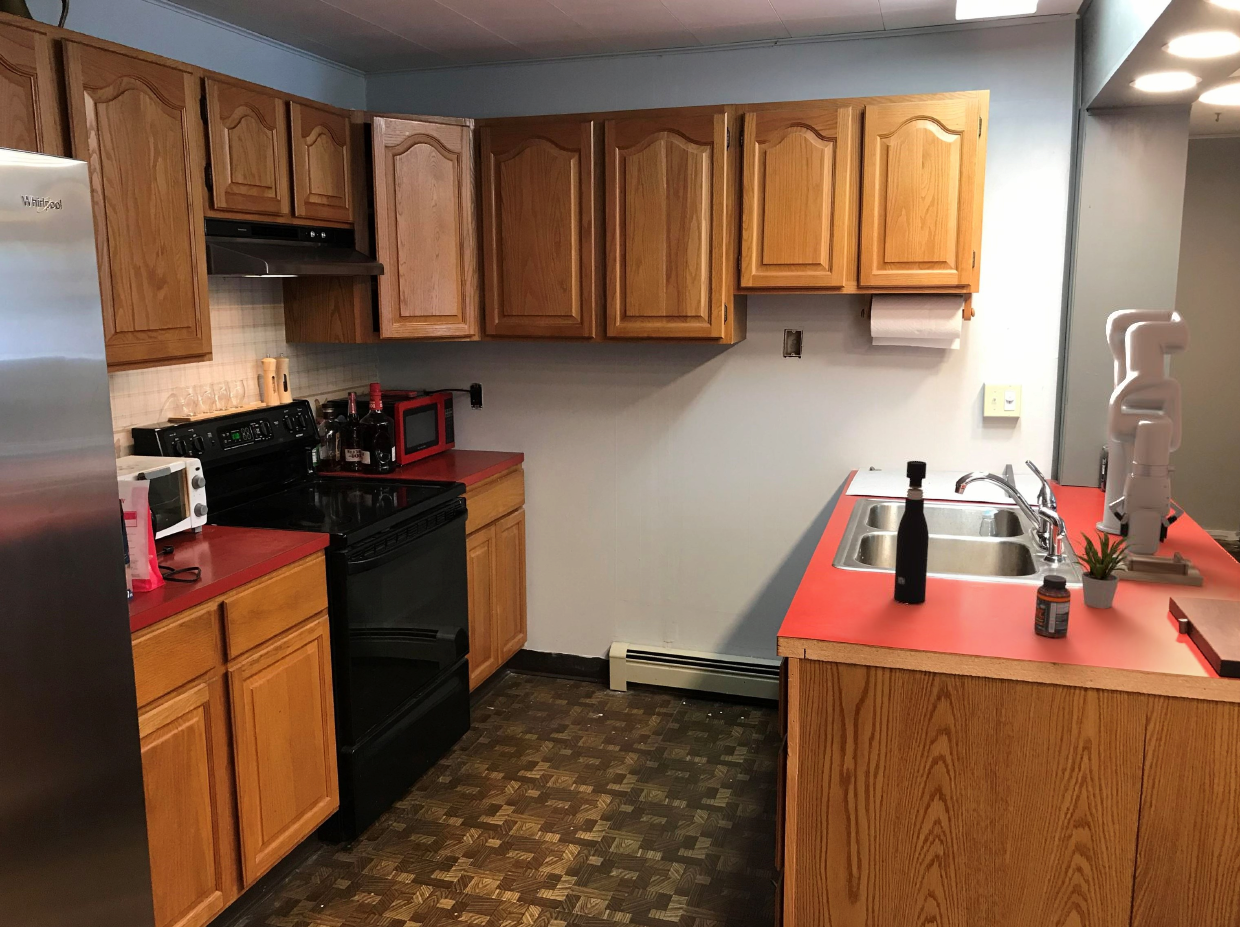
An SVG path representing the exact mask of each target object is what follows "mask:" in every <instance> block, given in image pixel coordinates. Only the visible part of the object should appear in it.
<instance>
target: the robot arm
mask: <svg viewBox="0 0 1240 927" xmlns="http://www.w3.org/2000/svg"><path fill="white" fill-rule="evenodd" d="M1106 337H1107V343H1108V346H1109V349H1110V351H1111V355H1112V357H1113V362H1114V366H1113V367H1114V372H1113V373H1114V374H1113V375H1114V376H1113V378H1114V379H1113V381H1114V382H1113V392H1112V394H1111V397H1110V399H1109V403H1108V407H1107V417H1108V418H1107V425H1108V426H1107V434H1106V435H1107V443H1108V444H1107V445H1108V446H1107V447H1108V460H1107V462H1108V463H1107V472H1106V473H1107V475H1106V485H1105V496H1104V505H1103V506H1104V508H1103V516H1102V517H1103V519H1102V520H1101V521H1098V522H1096V523H1095V524H1096V526H1095V528H1096V529H1097V530H1098V531H1100V532H1104V531H1105V532H1106V533H1107V534H1114V535H1119V536H1121V537H1122V538H1124V537H1127V531H1128V524H1127V521H1128V520H1129V518H1130V515H1132V513H1134V512H1136V511H1138V508H1143V509H1157V510H1156V512H1158V513H1159V514H1160V515H1161V517H1162V524H1161V533H1160V542H1159V543H1163V544H1164V542H1165V539H1166V540H1167V538H1168V528H1169V527H1170V526H1171V525H1172V524H1174V523H1175V522H1176V521H1177V520H1178V519H1179V518H1181V517H1182V515H1183V514H1184V513H1185V511H1184V510H1183V509H1182V508H1181V507H1180V506H1179V505H1177V504H1176V503H1174V501H1172V500H1171V498H1172V497H1171V492H1172V489H1171V485H1172V484H1171V478H1170V477H1171V476H1170V475H1169V473H1175V468H1176V467H1175V466H1171V465H1170V464H1169V460H1170V453H1173V452H1175V451H1177V450H1178V449H1179V448H1180V446H1181V443H1182V436H1183V435H1182V434H1183V433H1182V432H1183V425H1182V424H1183V418H1182V416H1183V414H1182V413H1183V412H1182V411H1183V408H1182V407H1183V404H1182V403H1183V402H1182V401H1183V399H1182V394H1183V393H1182V388H1181V384H1180V383H1179V381H1178V380H1176V379H1175V378H1173V377H1169V376H1165V360H1164V359H1165V357H1164V355H1171V356H1172V355H1174V356H1175V355H1176V356H1179V355H1183V354H1185V353H1186V352H1187V351H1188V350H1189V347H1190V343H1191V332H1190V328H1189V326H1188V323H1187V321H1186V320H1185V318H1184V316H1183V315H1182V313H1180V312H1179V311H1178V310H1175V309H1145V308H1144V309H1142V308H1140V309H1139V308H1136V309H1135V308H1134V309H1131V308H1130V309H1121V310H1118V311H1114V312H1112V314H1110V315H1109V317H1108V318H1107V323H1106ZM1122 411H1124V412H1122ZM1125 411H1126V412H1125ZM1135 412H1136V413H1135ZM1137 412H1139V413H1137ZM1155 413H1157V414H1155ZM1171 509H1172V511H1174V513H1172V514H1171V515H1170V512H1171ZM1169 515H1170V516H1169ZM1122 538H1121V539H1122Z"/></svg>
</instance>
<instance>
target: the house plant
mask: <svg viewBox="0 0 1240 927" xmlns="http://www.w3.org/2000/svg"><path fill="white" fill-rule="evenodd" d="M1092 529H1093V530H1094V531H1095V533H1096V534H1097V536H1098V540H1099V544H1100V553H1101V556H1100V555H1099V551H1098V548H1095V545H1094V544H1093V541H1092V540H1091V539H1090V537H1088V536H1087V535H1086V534H1085V533H1084V532H1082V531H1079V532H1080V534H1081V535H1082V537H1083V539H1084V541H1085V543H1086V544H1085V546H1084V547H1083V549H1084V553H1082V556H1081V555H1079V554H1074V553H1072V555H1073V556H1075V557H1077V558H1078V559H1079V560H1081V561H1082V562H1084V563H1086V564H1087V565H1088V567H1089V569H1088V568H1087V566H1086V565H1084V564H1083V563H1081V562H1080V561H1073V562H1072V564H1077V565H1081V566H1082V567H1083V568H1085V569H1086V571H1084V572H1081V581H1082V590H1083V591H1082V592H1083V603H1084V604H1085V606H1088V607H1092V608H1096V607H1098V609H1109V608H1111V607H1112V604H1113V602H1114V598H1115V594H1116V591H1117V588H1118V584H1119V580H1120V579H1119V577H1118V576H1116V575H1114V574H1111V572H1112V571H1113V570H1121V571H1125V572H1126V570H1125V569H1122V568H1116V567H1117V565H1118V564H1119V563H1120V562H1121V561H1122V560H1123V559H1125V558H1126V557H1128V556H1132V555H1127V556H1124V557H1122V558H1119V556H1120V555H1121V554H1122V553H1123V552H1124V551H1125V550H1126V549H1127V548H1128V547H1130V546H1132V545H1142V544H1129V545H1127V546H1126V547H1125V546H1123V547H1120V546H1121V545H1123V543H1125V541H1126V540H1127V539H1128V538H1130V537H1133V536H1136V535H1131V536H1127V537H1124V538H1121V539H1118V540H1117V539H1116V540H1115V541H1114V542H1113V543H1112V544H1111V547H1110V537H1109V535H1108V533H1107V532H1105V531H1103V535H1102V534H1100V533H1101V530H1098V531H1097V530H1096V529H1095V528H1093V527H1092ZM1098 532H1099V533H1098ZM1070 539H1072V540H1073V538H1071V537H1070ZM1076 542H1077V543H1079V544H1080V542H1079V541H1078V540H1076ZM1119 547H1120V548H1119ZM1122 548H1123V549H1122ZM1119 550H1120V551H1119ZM1118 551H1119V552H1118ZM1108 552H1109V553H1108ZM1116 553H1119V554H1118V555H1117V556H1116V557H1113V555H1114V554H1116ZM1084 556H1086V558H1085V557H1084ZM1117 559H1119V560H1117ZM1122 562H1123V561H1122ZM1110 565H1111V566H1110ZM1121 565H1124V566H1128V567H1129V568H1130V565H1129V564H1121ZM1109 566H1110V567H1109ZM1118 566H1120V565H1118ZM1108 568H1109V569H1108ZM1114 568H1115V569H1114ZM1130 569H1131V568H1130Z"/></svg>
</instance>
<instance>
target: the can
mask: <svg viewBox="0 0 1240 927" xmlns="http://www.w3.org/2000/svg"><path fill="white" fill-rule="evenodd" d="M1156 510H1157V509H1143V508H1138V511H1136V512H1134V513H1132V515H1130V518H1129V520H1128V521H1127V524H1128V531H1127V536H1131V535H1136V536H1133V537H1130V538H1128V539H1127V540H1126V541H1125V542H1124V547H1126V546H1127V545H1129V544H1142V545H1132V546H1130V547H1128V548H1127V549H1128V551H1129V553H1130V554H1137V555H1149V556H1155V554H1156V553H1158V552H1159V549H1160V543H1161V542H1160V533H1161V524H1162V517H1161V515H1160V514H1159V513H1158V512H1156Z"/></svg>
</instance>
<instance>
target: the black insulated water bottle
mask: <svg viewBox="0 0 1240 927" xmlns="http://www.w3.org/2000/svg"><path fill="white" fill-rule="evenodd" d="M905 476H906V478H907V479H909V481H908V482H909V484H908V487H909V488H908V489H907V491H906V493H907V494H906V496H907V497H905V498H904V499H905V503H904V512H903V513H902V516H901V519H900V522H899V524H898V529H897V533H896V549H895V552H896V553H895V572H894V574H895V575H894V590H893V591H894V592H893V599H895V602H897V601H899V602H898V603H900V602H902V603H901V604H904V603H908V604H907V605H913V604H914V605H920V604H921V603H922V604H924V603H925V601H926V591H927V590H926V588H927V587H926V586H927V575H928V574H927V572H928V570H927V569H928V556H929V536H930V535H929V529H928V523H927V519H926V516H925V512H924V510H925V509H924V508H925V506H924V505H925V498H923V497H924V495H923V494H924V490H923V489H922V488H923V480H924V479H926V476H927V462H925V461H921V460H909V461H907V462H906V475H905ZM922 604H921V605H922Z"/></svg>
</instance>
